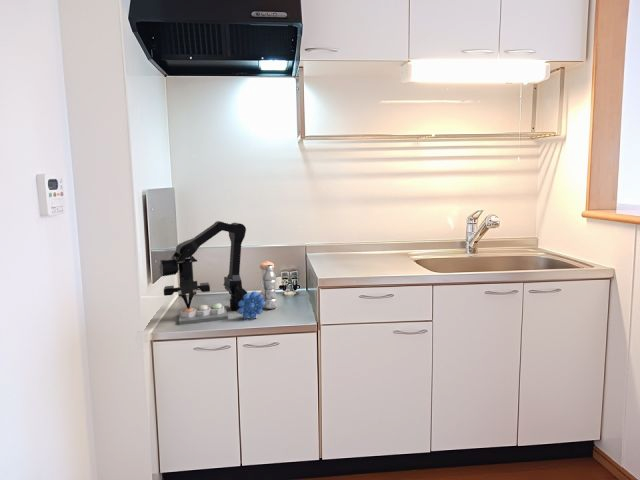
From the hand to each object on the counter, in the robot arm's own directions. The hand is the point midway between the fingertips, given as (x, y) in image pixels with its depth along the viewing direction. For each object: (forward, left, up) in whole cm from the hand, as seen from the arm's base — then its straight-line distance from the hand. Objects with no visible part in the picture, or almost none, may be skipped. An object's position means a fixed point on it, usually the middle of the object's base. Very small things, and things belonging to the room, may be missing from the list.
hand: (188, 308), depth 186 cm
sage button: (-12, 0, -2) cm, 12 cm away
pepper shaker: (-38, -18, -5) cm, 42 cm away
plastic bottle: (-36, -2, -5) cm, 36 cm away
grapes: (-26, +9, -5) cm, 28 cm away
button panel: (-6, 0, -5) cm, 7 cm away
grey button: (-6, 0, -2) cm, 6 cm away
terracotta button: (0, 0, -2) cm, 2 cm away
